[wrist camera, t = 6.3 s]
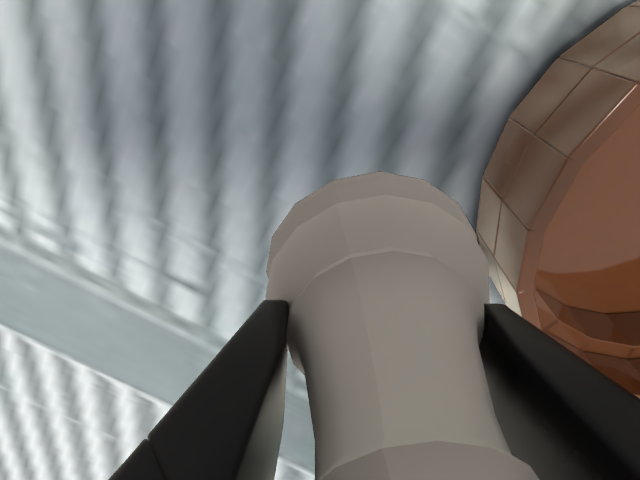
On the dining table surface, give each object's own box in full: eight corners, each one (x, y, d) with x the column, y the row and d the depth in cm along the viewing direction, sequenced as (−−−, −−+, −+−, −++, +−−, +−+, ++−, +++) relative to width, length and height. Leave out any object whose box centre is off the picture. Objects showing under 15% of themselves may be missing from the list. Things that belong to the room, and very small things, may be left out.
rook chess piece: (231, 209, 9) (-14, 895, 2) (442, 127, 8) (1035, 809, 2) (315, 355, 11) (316, 945, 4) (490, 301, 11) (830, 921, 4)
